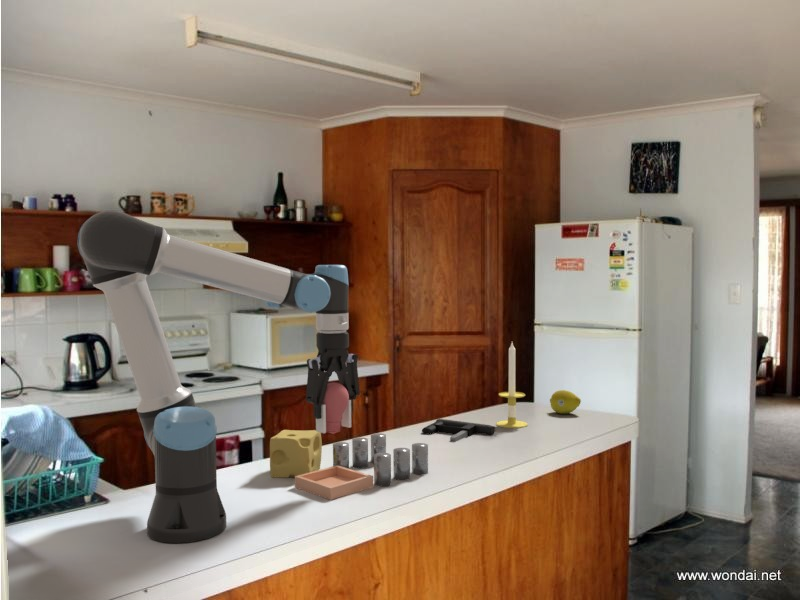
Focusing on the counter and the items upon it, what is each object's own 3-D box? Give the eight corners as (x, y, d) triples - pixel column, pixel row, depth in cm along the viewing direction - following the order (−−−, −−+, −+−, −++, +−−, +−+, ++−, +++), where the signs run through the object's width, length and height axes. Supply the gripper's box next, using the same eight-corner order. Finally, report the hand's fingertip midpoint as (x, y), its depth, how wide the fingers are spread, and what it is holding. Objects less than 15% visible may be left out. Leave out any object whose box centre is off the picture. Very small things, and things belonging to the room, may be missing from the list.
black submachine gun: (473, 437, 215) (496, 423, 228) (413, 429, 226) (439, 416, 239) (473, 448, 215) (497, 434, 229) (413, 440, 226) (439, 426, 239)
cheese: (309, 480, 181) (309, 439, 181) (267, 477, 183) (267, 437, 183) (322, 468, 191) (322, 429, 191) (282, 466, 194) (282, 428, 193)
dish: (330, 499, 166) (330, 488, 166) (294, 487, 175) (294, 476, 175) (373, 486, 176) (373, 475, 175) (337, 475, 185) (337, 465, 184)
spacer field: (382, 487, 175) (382, 458, 174) (329, 471, 188) (329, 444, 188) (431, 472, 187) (431, 444, 186) (378, 458, 200) (378, 432, 200)
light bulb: (355, 433, 175) (355, 382, 174) (332, 438, 170) (332, 386, 169) (335, 428, 180) (334, 379, 179) (312, 433, 175) (311, 382, 174)
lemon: (544, 413, 257) (544, 390, 257) (556, 409, 263) (556, 387, 262) (572, 417, 250) (572, 394, 249) (584, 414, 255) (584, 390, 255)
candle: (496, 420, 246) (496, 339, 244) (527, 421, 244) (527, 339, 243) (495, 427, 236) (496, 342, 234) (528, 428, 234) (528, 342, 233)
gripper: (308, 336, 164) (310, 439, 165) (375, 329, 178) (376, 424, 179) (287, 333, 169) (289, 434, 170) (353, 327, 183) (355, 420, 184)
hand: (333, 429), depth 175 cm, fingers closed on light bulb, 7 cm apart
